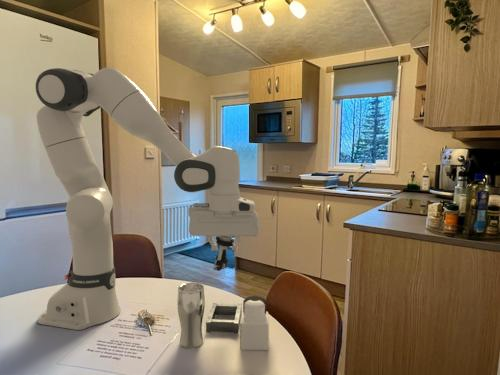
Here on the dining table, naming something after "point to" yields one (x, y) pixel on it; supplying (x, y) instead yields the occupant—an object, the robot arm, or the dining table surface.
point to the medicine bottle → (254, 324)
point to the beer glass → (191, 314)
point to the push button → (222, 252)
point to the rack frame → (224, 325)
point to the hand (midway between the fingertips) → (224, 250)
